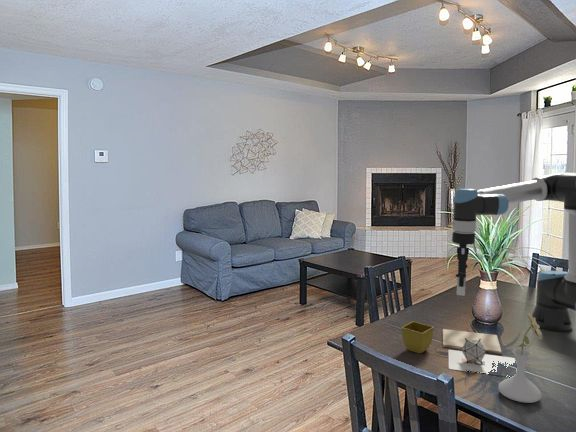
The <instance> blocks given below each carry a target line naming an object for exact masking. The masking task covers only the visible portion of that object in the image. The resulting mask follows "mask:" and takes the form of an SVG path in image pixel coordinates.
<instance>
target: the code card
mask: <svg viewBox="0 0 576 432" xmlns="http://www.w3.org/2000/svg"><path fill="white" fill-rule="evenodd" d="M447 352H448V370H454V371H461V372H467V371H468V370H470V371H473V370H475V371H474V372H476V371H478V372H477V373H476V374H481V373H486V374H485V375H488V374H489V373H488V372H490V371H491V370H493V369H495V370H496V371H495V372H497V367H498V366H497V365H498V361H499V363H500V362H501V364H502V363H504V364H505V362H506V364H507V363H508V364H507V365H506V366H507V367H508V366H509V364H510V365H511V364H512V365H513V363H515V361H516V357H511V356H501V355H496V354H495V355H494V354H488V353H486V354H485V355H484V357H483V359H482V361H481V362H482V364H481V362H469V361H468V363H467V359H466V358H465V356H464V354H463V352H462V351H459V350H457V349H456V350H455V349H448V351H447ZM493 361H494V362H493ZM492 363H495V364H496V365H495V364H494V365H495V366H496V367H495V366H494V367H493V368H492V366H493V365H492ZM504 366H505V365H504ZM507 367H506V368H507ZM465 369H466V370H467V371H466V370H465ZM470 371H469V373H471V372H470ZM481 371H482V372H481ZM474 372H473V373H474ZM479 372H480V373H479ZM492 372H494V370H493V371H492ZM507 376H508V375H507ZM507 376H506V377H505V378H509V377H510V376H509V377H507Z"/></svg>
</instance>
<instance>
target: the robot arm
mask: <svg viewBox="0 0 576 432" xmlns="http://www.w3.org/2000/svg"><path fill="white" fill-rule="evenodd" d="M532 200H534V201H536V202H542V201H553V202H560V203H563V209H564V210H565V211H566V212H567V213H568V271H563V270H543V271H540V272H539V273H538V274H537V275H538V276H537V280H536V298H535V299H536V301H535V306H534V308H533V311H532V313H531V314H532V317H533V318H534V317H535V319H536V322H537V324H538V325H539V326H540V328H539V329H542V330H543V329H544V330H547V331H551V332H552V331H553V332H568V331H570V330H571V329H572V327H573V321H572V319H571V315H570V312H569V309H570V310H572V311H575V312H576V172H567V171H564V172H555V173H551V174H546V175H542V176H538V177H533V178H531V180H528V181H523V182H518V183H517V182H516V183H511V184H505V185H502V186H501V185H499V186H495V187H493V186H492V187H489V188H487V187H486V188H483V189H475V188H458V189H457V188H456V190H455V192H454V196H453V199H452V203H453V218H452V219H453V220H452V221H451V225H452V230H453V232H452V238H451V241H452V243H454V244H458V246H457V247H456V254H457V258H456V259H457V261H458V262H457V274H455V278H456V279H457V280H456V296H462V297H465V296H466V283H467V282H466V280H467V278H466V277H467V269H468V264H467V261H468V259H469V253H470V248H469V247H467V245H473V244H475V243H476V234H475V232H476V229H477V227H476V226H477V216H497V215H498V216H500V215H504V214H505V213H506V212H507V211H508V209H509V205H512V204H516V203H522V202H527V201H532Z"/></svg>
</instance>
